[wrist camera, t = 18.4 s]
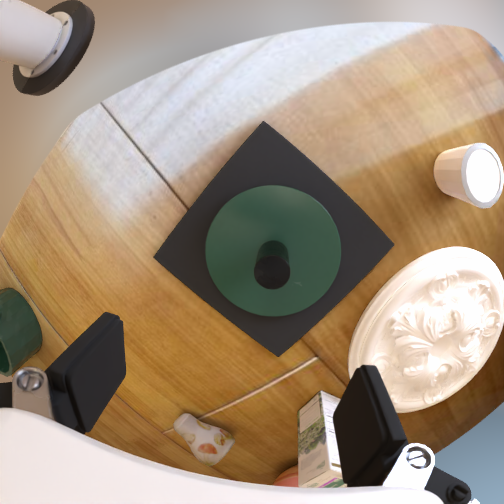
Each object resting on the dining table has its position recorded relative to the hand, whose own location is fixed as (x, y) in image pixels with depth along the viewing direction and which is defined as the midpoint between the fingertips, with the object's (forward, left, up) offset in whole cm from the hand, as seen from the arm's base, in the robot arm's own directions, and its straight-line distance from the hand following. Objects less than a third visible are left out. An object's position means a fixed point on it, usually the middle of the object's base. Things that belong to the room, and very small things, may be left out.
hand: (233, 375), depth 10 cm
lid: (+2, 0, -22) cm, 22 cm away
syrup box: (+24, -13, -23) cm, 35 cm away
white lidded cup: (+12, +22, -23) cm, 34 cm away
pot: (-24, -42, -23) cm, 54 cm away
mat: (+2, 0, -23) cm, 23 cm away
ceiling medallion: (+29, +6, -23) cm, 37 cm away
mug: (+14, -30, -23) cm, 40 cm away
